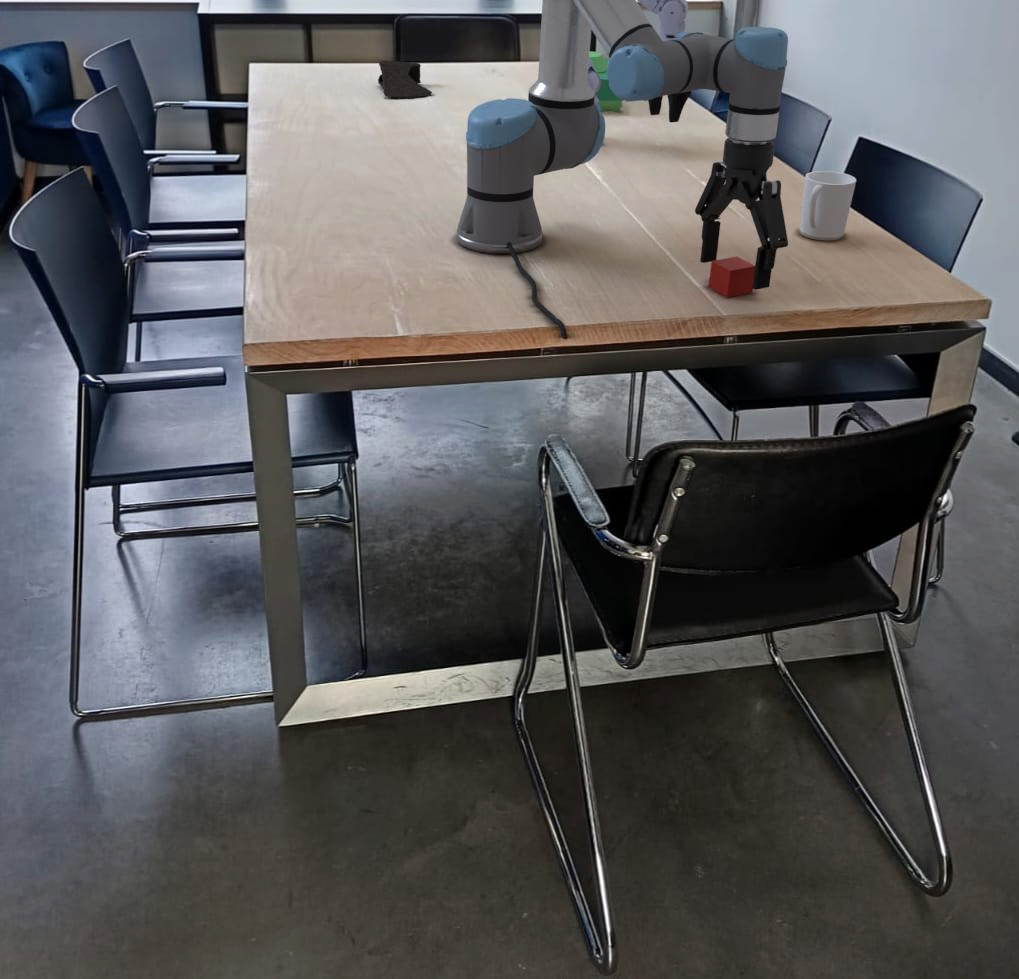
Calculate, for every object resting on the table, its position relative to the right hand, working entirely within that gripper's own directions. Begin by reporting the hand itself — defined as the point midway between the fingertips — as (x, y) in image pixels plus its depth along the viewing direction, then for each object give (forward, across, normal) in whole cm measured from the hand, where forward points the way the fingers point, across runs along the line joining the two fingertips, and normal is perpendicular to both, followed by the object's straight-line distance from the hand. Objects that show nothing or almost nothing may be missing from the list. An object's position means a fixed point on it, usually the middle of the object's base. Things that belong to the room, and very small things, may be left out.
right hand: (664, 118), depth 250 cm
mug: (+7, -64, +9) cm, 65 cm away
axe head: (+7, +79, +31) cm, 85 cm away
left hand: (+4, -80, +41) cm, 90 cm away
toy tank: (+7, +52, -10) cm, 53 cm away
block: (+7, -79, +41) cm, 90 cm away
